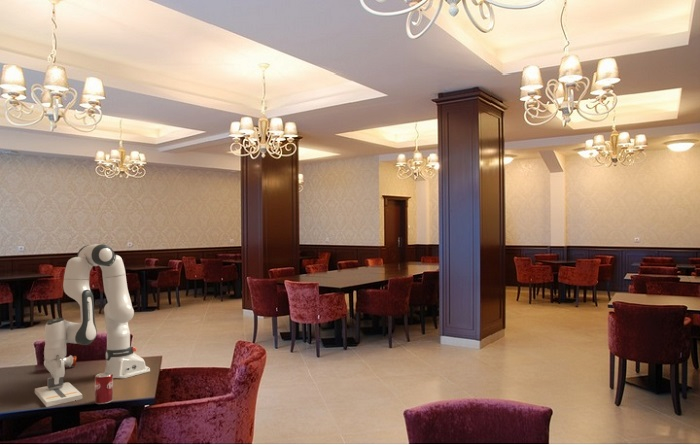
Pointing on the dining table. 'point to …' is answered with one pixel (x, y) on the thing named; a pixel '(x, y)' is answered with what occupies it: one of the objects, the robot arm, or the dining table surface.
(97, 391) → the soda can
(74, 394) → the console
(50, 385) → the fader
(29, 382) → the dining table surface
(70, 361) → the potion bottle
